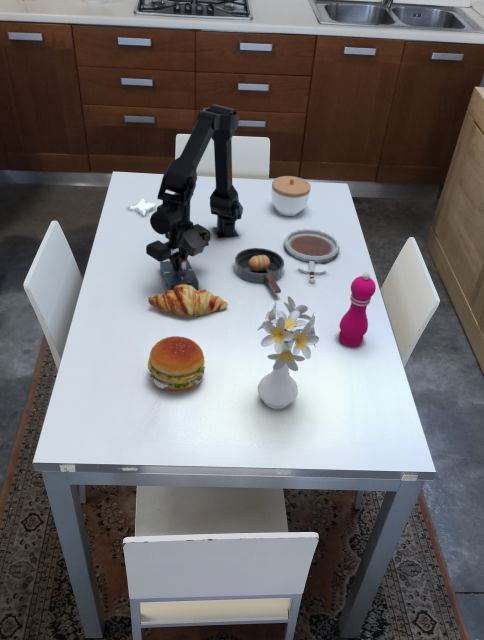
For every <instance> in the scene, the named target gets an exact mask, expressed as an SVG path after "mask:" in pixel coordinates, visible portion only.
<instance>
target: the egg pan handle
mask: <svg viewBox="0 0 484 640" xmlns="http://www.w3.org/2000/svg"><path fill="white" fill-rule="evenodd" d="M265 279H266V280H267V282H268V283H267V284H268V286H269V287H270V288H271V290H272V291H273V293H274V294H281V293H282V289H281V287H280V286H279V284H278V283H277V282H276V281H275V280H274V278H273V277H272V275H271V274H266V275H265Z"/></svg>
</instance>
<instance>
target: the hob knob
mask: <svg viewBox="0 0 484 640" xmlns="http://www.w3.org/2000/svg"><path fill="white" fill-rule="evenodd" d="M172 269H173V270H174V268H173V266H172ZM174 271H175V270H174ZM177 273H179V274H180V275H184V274H186V261H185V260H184V259H182V258H180V257H179V269H178V272H177Z"/></svg>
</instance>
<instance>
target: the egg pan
mask: <svg viewBox="0 0 484 640" xmlns="http://www.w3.org/2000/svg"><path fill="white" fill-rule="evenodd" d="M258 255H265V256H267V257H268V258H269V260H270V266H269V268H268V269H267V270H265V271H257V272H255V271H252V270H251V269H250V267H249V260H250V259H251V258H252V257H253V256H258ZM233 269H234V272H235V274H236V276H238V277H239V278H240V279H242V280H244V281H246V282H248V283H253V284H269V283H268V282H267V280H266V279H265V275H266V274H271V275H272V277H273V278H274V280H275V281H278V280H279V279H281V278H282V276H283V274H284V269H285V260H284V259H283V256H281V255H280V254H279V253H278V252H275V251H273V250H271V249H267V248H261V247H250V248H246V249H243V250H241V251H240V252H239V251H238V253H236V255H235V257H234V268H233Z"/></svg>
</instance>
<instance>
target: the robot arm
mask: <svg viewBox="0 0 484 640" xmlns="http://www.w3.org/2000/svg"><path fill="white" fill-rule="evenodd" d="M239 122H240V116H239V114H238V111H237V110H236V109H235V108H232V107H231V108H230V107H226V106H224V105H223V106H222V105H219V104H211V106H210V107H205V108H202V110H200V111H199V112H198V114H197V118H196V123H195V125H194V127H193V129H192V131H191V133H190V134H189V135H190V136H189V137H188V139H187V141H186V143H185V146H184V147H183V150H182V152H181V153H180V156H179V157H177V158H175V159H174V160H172V161H171V162H170V164H169V165H168V167H167V168H166V170H165V171H164V173H163V175H162V178H161V183H160V186H159V190H158V194H157V197H156V199H157V200H160V201H162V203H161V204H159V205H158V206H156V210H155V211H154V212H153V213H152V214H151V216H150V218H149V223H150V226H151V228H152V230H154V232H155V233H157V234H159V235H161V236H163V235H164V238H165V239H167V241H166V242H162V241H160V240H159V239H157V240H154V241H153V242H150V243H148V244H147V245H146V246H145V253H146V255H147V256H149V257H151V258H153V259H154V260H155V261H156V262H159V263H160V262H164V261H170V262H171V264H172V266H173V268H174V270H175V271H176V272H178V269H179V257H180V258H182V259H184V260H185V261H187V260H188V259H189V256H190V257H195V256H196V255H199V254H202V253H203V252H204V250H205V248H206V247H208V246H210V244H209V242H210V241H211V238H212V237H211V235H212V233H211V232H210V229H208V228H206V227H204V226H202V225H201V224H199V223H196V224H194V222H193V221H191V201H192V197H193V196H194V192H195V190H196V187H197V181H198V174H197V173H198V172H197V170H198V167H199V164H200V162H201V160H202V159H203V156H204V154H205V151H206V150H207V148H208V145H209V144H210V141H211V140H212V141H213V153H214V175H215V189H214V190H213V191H212V193H211V195H210V196H209V209H210V214H211V215H214V216H217V217H216V226H214V227H212V230H213V233H214V234H215V236H216V237H217V238H218V239H224V238H225V239H226V238H233V237H239V234H238V232H237V231H236V222H237V221H238V220H241V219H242V216H243V214H244V213H243V212H244V207H243V205H242V203H241V202H240V201H239V200H240V199H239V192H238V191H237V188H235V187H234V185H233V153H232V152H233V150H232V148H233V146H232V139H233V136H234V135H235V133H236V132H237V130H238V126H239ZM166 191H168V192H166ZM169 192H172V193H169Z"/></svg>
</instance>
